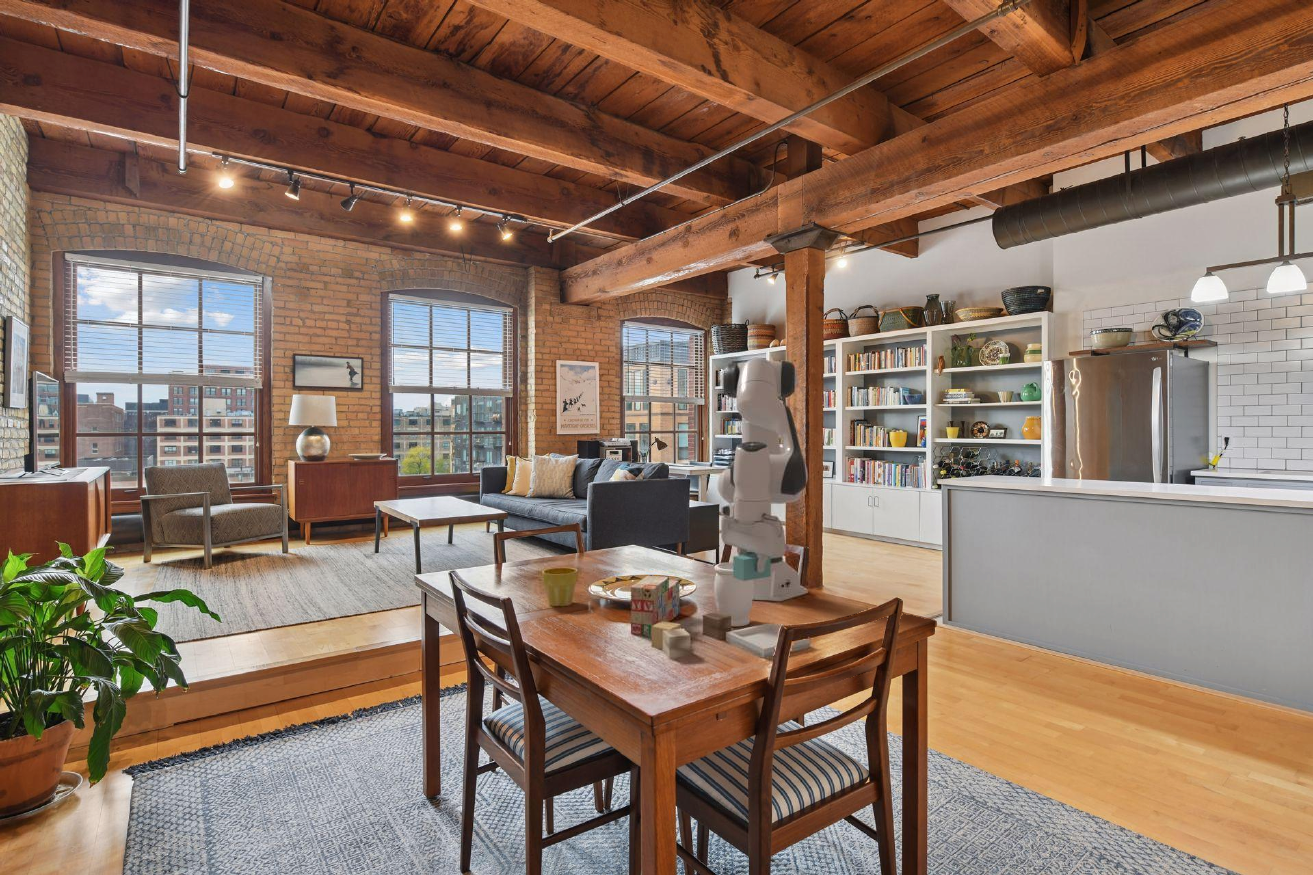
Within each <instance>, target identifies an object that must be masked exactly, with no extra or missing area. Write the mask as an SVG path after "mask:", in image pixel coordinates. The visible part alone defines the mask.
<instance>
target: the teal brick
mask: <svg viewBox="0 0 1313 875" xmlns="http://www.w3.org/2000/svg"><path fill="white" fill-rule="evenodd" d="M732 557H733V558H732V559H733V577H734V578H737V579H739V580H742V581H747V580H753V579H759V578H764V577H770V576H771V557H768V559H767V561H766V563H765V567H764V572H757V571H755V564H757V562H758V559H759V558H757V553H753V554H746V555H740V556H739V555H734V556H732Z"/></svg>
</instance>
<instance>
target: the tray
mask: <svg viewBox="0 0 1313 875" xmlns="http://www.w3.org/2000/svg"><path fill="white" fill-rule="evenodd" d="M780 627H781V626H779V625H776V624H774V623H771V622H769V623H765V624H760V625H759V624H758V625H754V626H750V627H745V628H740V629H736V630H731V631H729V632H726V637H725V641H726V642H727V643H729V644H731V645H734V646H735V645H736V646H735V647H738V648H740V649H742V650H744V651H746V652H749V653H751V654H753V655H755V656H756V657H759V658H762V659H763V658H765V659H768V658H767V657H769V658H773V657H774V656H773V654H774V652H775V647H776V641H777V633H778V630H779V628H780ZM810 640H811V638H810V639H803V640H801V641H797V642H796V643H794V645H793V646H792V652H791V653H793V652H796V651H801V650H806V649H810V646H811V645H810V644H811V643H810V642H811V641H810Z"/></svg>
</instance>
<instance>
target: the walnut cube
mask: <svg viewBox="0 0 1313 875" xmlns="http://www.w3.org/2000/svg"><path fill="white" fill-rule="evenodd" d="M729 631H732V626H731V615H727V614H724V613H720V612H718V610H717V611H714V612H710V613H706V614H702V636H705V637H709V638H712V639H715V640H721V639H724V638H726V632H729Z"/></svg>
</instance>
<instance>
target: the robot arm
mask: <svg viewBox="0 0 1313 875" xmlns="http://www.w3.org/2000/svg"><path fill="white" fill-rule="evenodd" d="M797 371H798V370H797V369H796V366H795V364H794V363H793V362H791V361H787V360H780V361H778V360H777V361H776V360H768V359H765V358H762V357H756V358H751V359H749V360H747V361H743V362H737V361H736V362H731V363H728V364H727V365H725V367H724V368H723V371H722V373H721V376H720V378H721V379H720V383H721V388H722V389H723V393H724V394H725V395H726V397H728V398H732V399H736V409H737V411H738V414H739V415H740V416H741V443H739V444H738V445H736V447H735V453H734V454H735V455H734V460H732V462H731V463H730V464H729V468H727V469H724V470H723V471H722V472H721V474H720V475H719V477H718V480H717V490H718V494H719V495H720V496H721V498H722V500H724V501H725V502H727V503H728V504H725V505H723V506H721V507H720V514H721V516H722V518H721V520H720V521H721V522H720V537H721V540H722V543H723V544H724V545H728V546H730V547H731V546H732V547H733V548H734V547H735V548H736V552H737V556H740V555H746V554H753V553H757V558H759V559H758V562H757V564H755V571H757V572H764V567H765V563H766V561H767V559H768V557H771V576H770V577H764V578H759V579H753V582H754V595H753V600H757V601H772V602H773V601H774V602H783V601H787V600H789V599H792V598H793V599H794V598H795V597H799V596H802V595H806V594H808V593H809V591H808V588H806V587H804V586H803V585H801V581H800V580H801V579H800V575H799V573H798V572H797V570H795V569H794V568H793V567H792V566H790V565H789V564H788V563H787V562H786V561H784V558H783V557H788V556H790V551H789V550H788V549H787V548H786V547H787V546H786V537H785V536H786V535H785V530H784V527H783V523H782V521H781V520H780V519H779V516H776V515H772V504H773V505H774V504H776V505H782V504H789V503H793V502H797V501H798V500H799V499H800V498H801V496H802V494H803V492H804V489H805V488H806V487H807V484H808V478H809V476H808V467H807V465H806V462H805V460H804V456H803V453H802V450H801V446H800V441H799V436H798V433H797V428H796V424H795V420H794V417H793V414H792V411H791V409H790V407H789V405H788V406H787V405H786V404H784V403H783V402H784V400H785V399H787V398H788V397H791V396H792V395H793V394H794V393H795V390H796V388H797V387H798V384H799V374H798V372H797ZM780 398H781V400H780ZM780 439H781V443H780ZM780 444H782V448H783V453H782V449H781V445H780Z"/></svg>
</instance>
